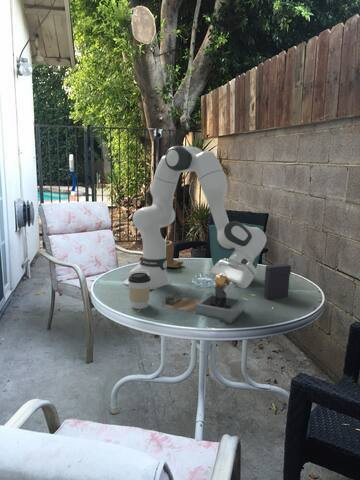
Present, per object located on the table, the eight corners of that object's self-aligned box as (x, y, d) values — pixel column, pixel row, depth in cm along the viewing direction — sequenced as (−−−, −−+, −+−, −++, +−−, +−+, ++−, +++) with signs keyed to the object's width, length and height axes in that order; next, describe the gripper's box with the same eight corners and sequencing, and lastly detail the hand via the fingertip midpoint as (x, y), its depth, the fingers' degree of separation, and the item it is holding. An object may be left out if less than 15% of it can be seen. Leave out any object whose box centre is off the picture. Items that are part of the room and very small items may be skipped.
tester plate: (161, 309, 169) (161, 298, 168) (176, 299, 181) (176, 289, 180) (192, 315, 163) (192, 304, 162) (206, 304, 175) (206, 294, 174)
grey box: (283, 294, 189) (285, 263, 186) (289, 297, 185) (291, 265, 182) (262, 297, 185) (264, 265, 182) (268, 300, 181) (270, 267, 178)
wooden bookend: (151, 267, 233) (151, 242, 230) (159, 263, 243) (159, 238, 241) (176, 270, 227) (176, 244, 224) (183, 265, 238) (184, 240, 235)
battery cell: (213, 305, 163) (214, 274, 161) (217, 302, 167) (218, 272, 164) (223, 307, 161) (224, 276, 159) (227, 304, 165) (228, 273, 162)
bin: (195, 316, 161) (195, 304, 160) (209, 304, 175) (210, 293, 174) (231, 323, 155) (231, 311, 154) (243, 311, 168) (244, 299, 167)
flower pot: (206, 279, 212) (208, 225, 207) (232, 272, 226) (234, 221, 220) (235, 288, 198) (238, 230, 192) (261, 280, 211) (264, 226, 205)
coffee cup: (124, 308, 169) (123, 273, 166) (141, 303, 175) (140, 269, 172) (137, 314, 162) (137, 278, 160) (155, 309, 169) (155, 274, 166)
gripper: (219, 252, 173) (199, 278, 169) (252, 263, 156) (232, 292, 153) (227, 261, 176) (208, 287, 173) (260, 272, 159) (240, 301, 156)
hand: (219, 289), depth 162 cm, fingers closed on battery cell, 4 cm apart
